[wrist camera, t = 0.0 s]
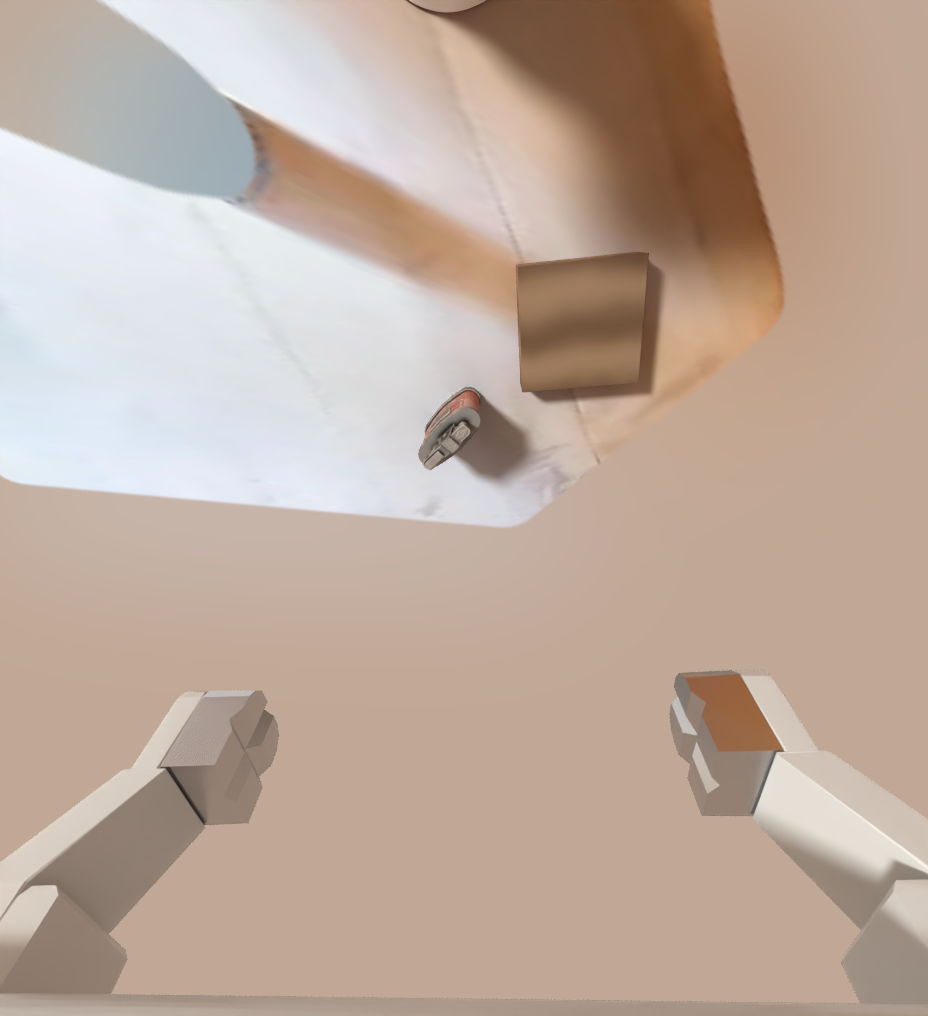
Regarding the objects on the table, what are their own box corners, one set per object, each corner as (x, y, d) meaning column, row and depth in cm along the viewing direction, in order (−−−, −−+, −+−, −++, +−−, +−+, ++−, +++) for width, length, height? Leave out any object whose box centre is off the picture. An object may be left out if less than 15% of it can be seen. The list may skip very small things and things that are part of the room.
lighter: (466, 380, 55) (463, 408, 46) (487, 400, 56) (488, 432, 47) (418, 428, 58) (407, 463, 49) (439, 446, 59) (432, 484, 50)
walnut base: (515, 264, 49) (517, 267, 46) (638, 251, 48) (648, 253, 45) (520, 383, 54) (522, 392, 51) (629, 373, 54) (638, 382, 51)
